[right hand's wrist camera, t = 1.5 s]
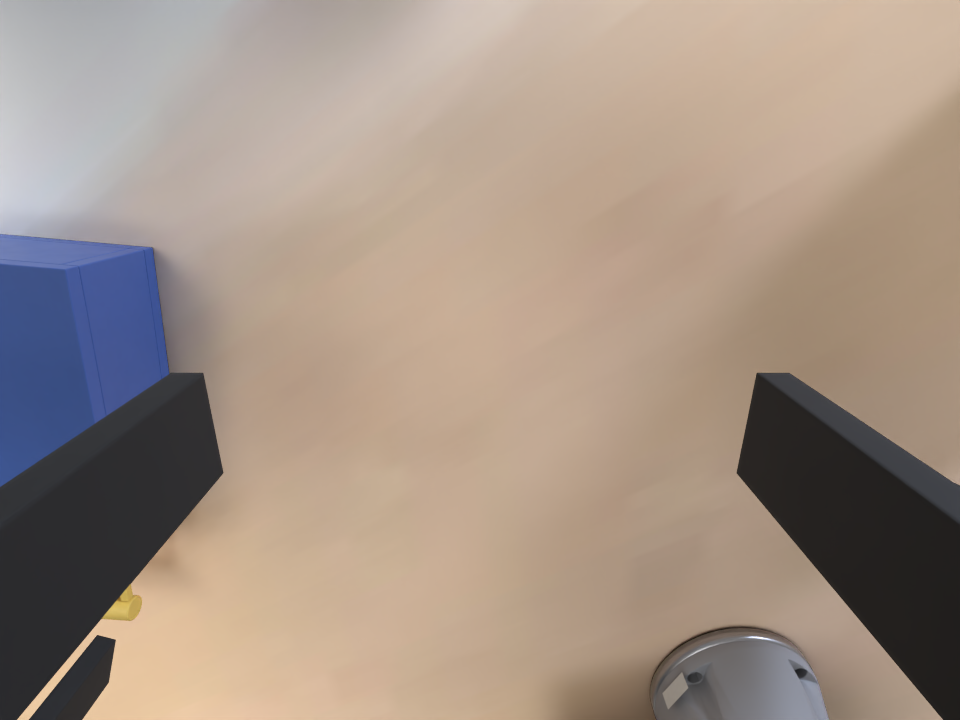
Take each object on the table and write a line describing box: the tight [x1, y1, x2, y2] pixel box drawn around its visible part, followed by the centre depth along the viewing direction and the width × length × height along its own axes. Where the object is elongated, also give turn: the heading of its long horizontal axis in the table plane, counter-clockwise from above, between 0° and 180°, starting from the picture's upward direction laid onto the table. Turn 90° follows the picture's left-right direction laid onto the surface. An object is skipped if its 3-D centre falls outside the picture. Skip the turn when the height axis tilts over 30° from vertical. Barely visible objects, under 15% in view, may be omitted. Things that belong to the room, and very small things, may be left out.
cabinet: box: [0, 234, 169, 487], centre depth 36 cm, size 21×11×8 cm, turn 175°
